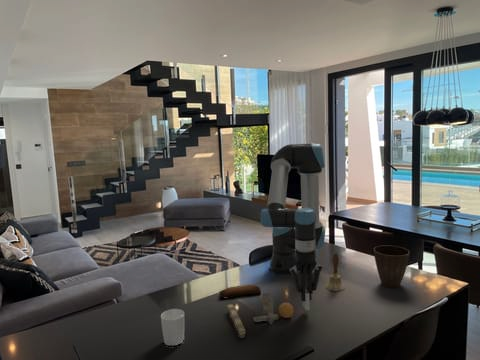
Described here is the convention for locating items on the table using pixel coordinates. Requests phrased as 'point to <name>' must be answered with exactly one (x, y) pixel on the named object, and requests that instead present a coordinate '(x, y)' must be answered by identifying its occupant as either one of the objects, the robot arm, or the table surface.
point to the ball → (286, 310)
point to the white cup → (173, 326)
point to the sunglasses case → (240, 291)
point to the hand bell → (335, 277)
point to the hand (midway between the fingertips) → (306, 308)
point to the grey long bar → (236, 320)
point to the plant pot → (391, 264)
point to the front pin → (266, 317)
